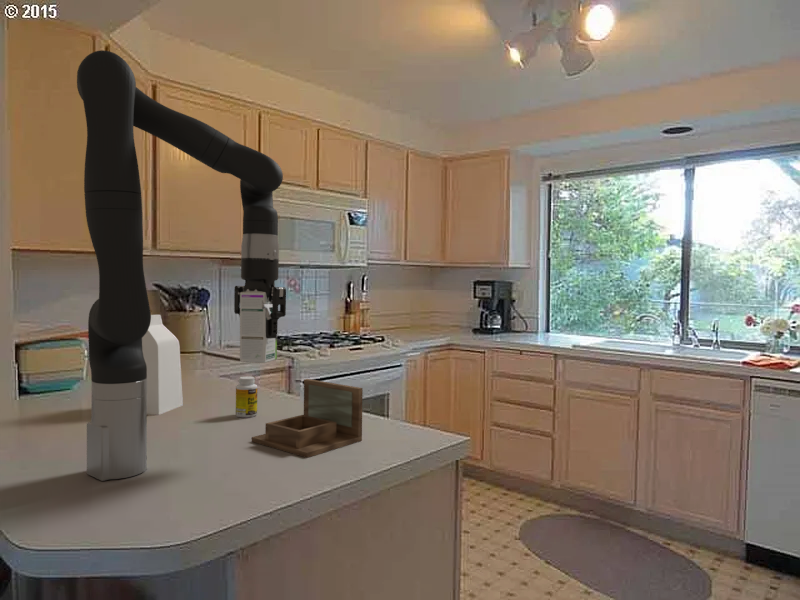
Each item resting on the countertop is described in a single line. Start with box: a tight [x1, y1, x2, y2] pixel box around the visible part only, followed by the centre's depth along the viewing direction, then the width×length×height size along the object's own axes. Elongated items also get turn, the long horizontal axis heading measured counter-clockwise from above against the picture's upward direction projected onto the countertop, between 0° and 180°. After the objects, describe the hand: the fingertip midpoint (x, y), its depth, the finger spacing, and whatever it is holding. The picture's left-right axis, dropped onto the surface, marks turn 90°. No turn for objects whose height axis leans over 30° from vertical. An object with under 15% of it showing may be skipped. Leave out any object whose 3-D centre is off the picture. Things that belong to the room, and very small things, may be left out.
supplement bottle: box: [235, 375, 258, 419], centre depth 152 cm, size 6×6×10 cm
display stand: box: [251, 378, 364, 459], centre depth 129 cm, size 17×18×12 cm
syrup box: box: [239, 291, 278, 364], centre depth 118 cm, size 6×6×14 cm
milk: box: [142, 314, 184, 416], centre depth 158 cm, size 12×12×26 cm
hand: (258, 336), depth 119 cm, fingers closed on syrup box, 7 cm apart
